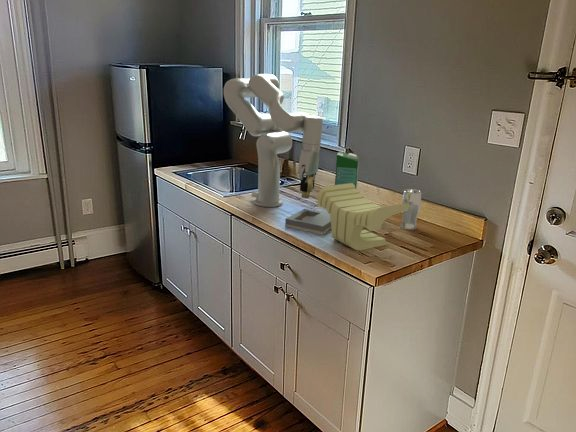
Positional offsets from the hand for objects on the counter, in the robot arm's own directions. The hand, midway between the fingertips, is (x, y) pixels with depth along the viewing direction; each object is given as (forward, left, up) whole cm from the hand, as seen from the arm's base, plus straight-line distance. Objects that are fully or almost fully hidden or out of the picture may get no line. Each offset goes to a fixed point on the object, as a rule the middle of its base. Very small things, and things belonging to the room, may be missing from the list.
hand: (306, 189), depth 200 cm
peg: (-1, 0, -3) cm, 3 cm away
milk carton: (+11, +15, -11) cm, 22 cm away
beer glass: (+42, +7, -11) cm, 44 cm away
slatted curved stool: (+31, -20, -11) cm, 39 cm away
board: (+9, -12, -11) cm, 18 cm away
